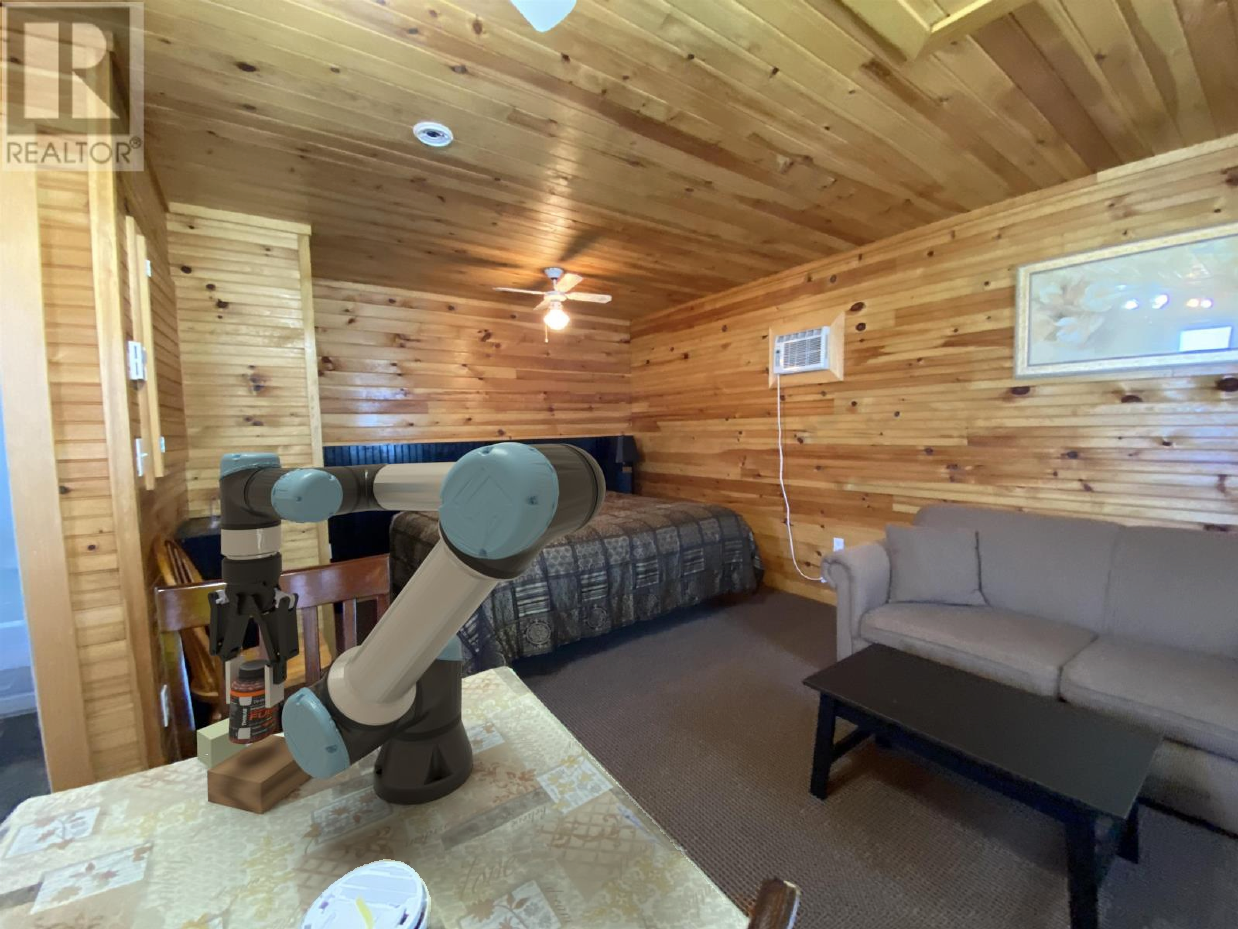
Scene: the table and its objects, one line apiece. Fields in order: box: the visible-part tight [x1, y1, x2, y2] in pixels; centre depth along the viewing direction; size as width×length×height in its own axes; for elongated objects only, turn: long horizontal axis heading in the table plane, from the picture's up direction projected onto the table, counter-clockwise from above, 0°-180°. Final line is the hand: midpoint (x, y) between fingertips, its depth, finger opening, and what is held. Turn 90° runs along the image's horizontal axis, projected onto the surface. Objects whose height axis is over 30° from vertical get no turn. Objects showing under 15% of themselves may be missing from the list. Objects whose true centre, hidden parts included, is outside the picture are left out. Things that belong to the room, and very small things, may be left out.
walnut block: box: [206, 734, 312, 815], centre depth 81 cm, size 10×10×5 cm
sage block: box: [196, 717, 247, 769], centre depth 88 cm, size 5×5×5 cm
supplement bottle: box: [228, 658, 277, 745], centre depth 80 cm, size 6×6×11 cm
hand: (255, 701), depth 80 cm, fingers closed on supplement bottle, 6 cm apart
